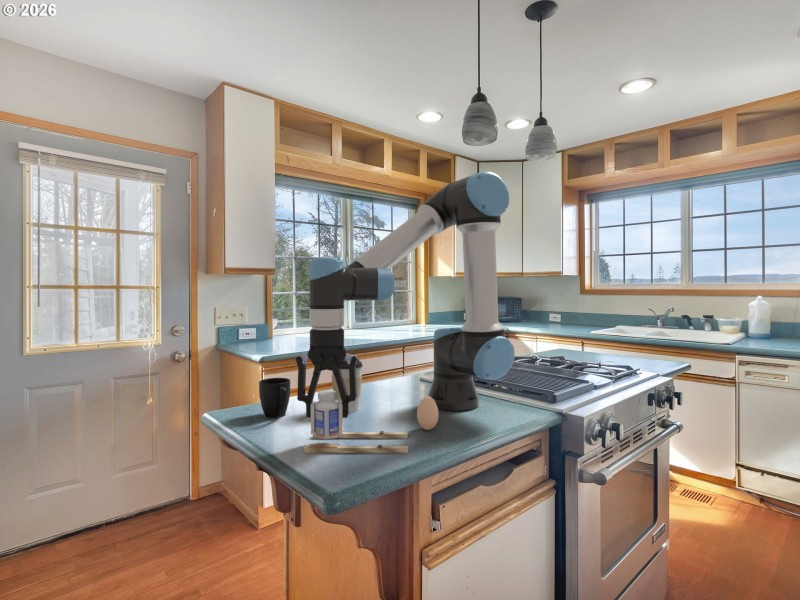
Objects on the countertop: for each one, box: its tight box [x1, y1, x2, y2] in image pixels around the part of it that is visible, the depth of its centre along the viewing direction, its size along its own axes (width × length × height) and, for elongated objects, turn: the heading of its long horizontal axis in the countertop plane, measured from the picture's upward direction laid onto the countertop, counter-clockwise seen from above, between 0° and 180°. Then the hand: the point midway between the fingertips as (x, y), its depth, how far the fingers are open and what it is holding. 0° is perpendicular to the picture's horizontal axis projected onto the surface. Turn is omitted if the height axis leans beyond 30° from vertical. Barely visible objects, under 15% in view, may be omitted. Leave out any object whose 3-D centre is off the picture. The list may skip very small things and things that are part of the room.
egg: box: [416, 395, 439, 431], centre depth 105 cm, size 5×5×8 cm
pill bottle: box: [315, 389, 340, 440], centre depth 95 cm, size 5×5×10 cm
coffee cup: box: [331, 357, 364, 414], centre depth 122 cm, size 9×9×15 cm
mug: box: [258, 377, 291, 419], centre depth 115 cm, size 8×12×10 cm
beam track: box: [303, 430, 409, 454], centre depth 95 cm, size 22×10×1 cm, turn 90°
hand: (327, 431), depth 95 cm, fingers closed on pill bottle, 5 cm apart
